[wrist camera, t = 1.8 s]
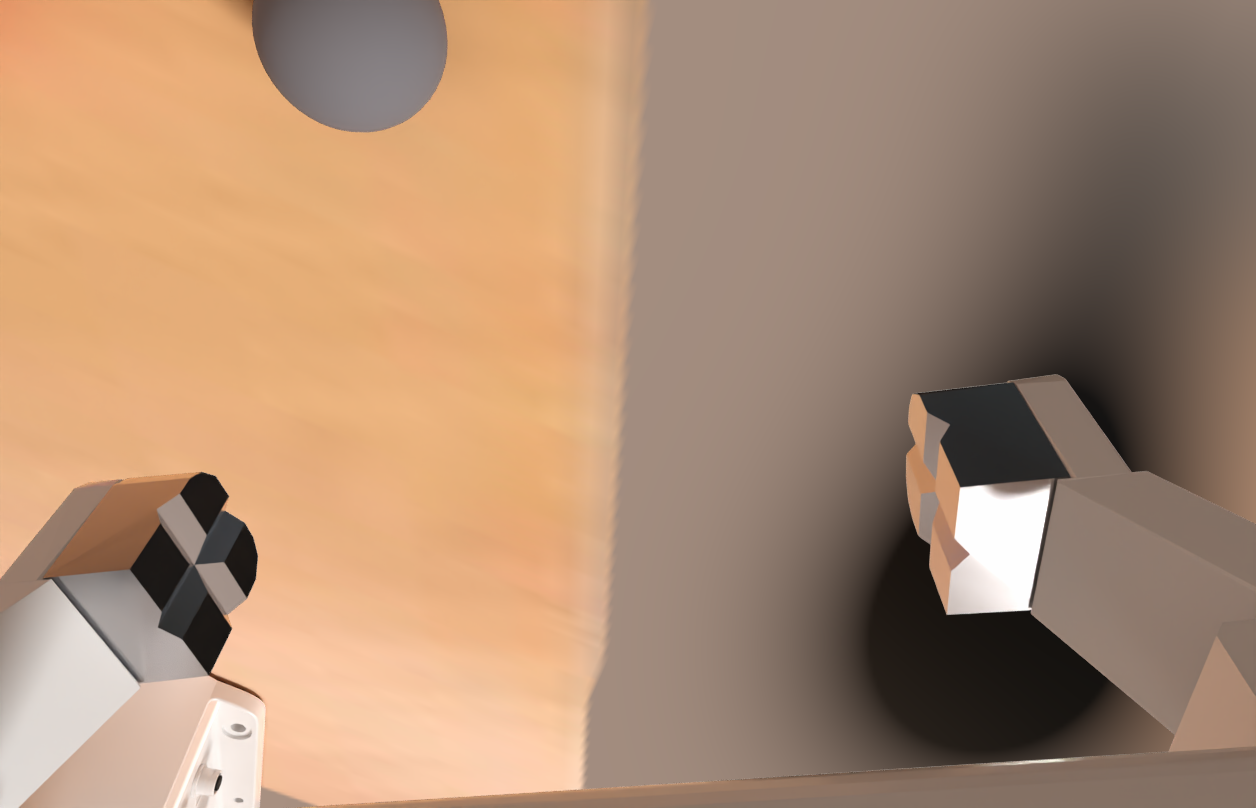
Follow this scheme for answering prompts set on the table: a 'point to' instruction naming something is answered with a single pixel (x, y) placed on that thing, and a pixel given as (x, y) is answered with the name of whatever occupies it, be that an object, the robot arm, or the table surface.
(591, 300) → the table surface
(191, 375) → the table surface
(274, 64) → the grey ball
